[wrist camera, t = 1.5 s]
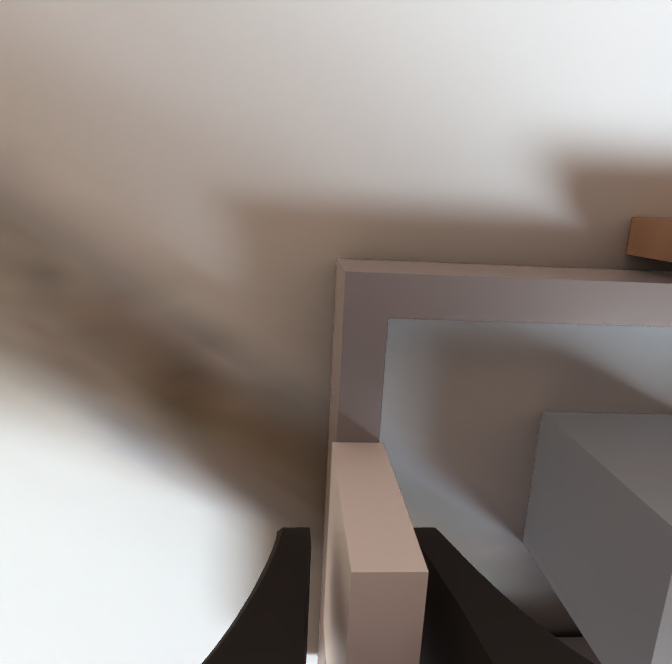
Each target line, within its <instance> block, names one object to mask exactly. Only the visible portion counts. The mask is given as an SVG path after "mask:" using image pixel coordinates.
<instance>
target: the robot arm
mask: <svg viewBox="0 0 672 664" xmlns="http://www.w3.org/2000/svg"><path fill="white" fill-rule="evenodd" d="M413 529H414V532H415V535H416V537H417V540H418V543H419V546H420V549H421V552H422V555H423V557H424V560H425V563H426V566H427V569H428V572H429V573H428V583H427V592H426V602H425V612H424V622H423V631H422V641H421V651H420V660H419V664H594V663H593V662H591V661H589V660H588V659H586V658H585V657H583V656H582V655H580V654H579V653H577V652H576V651H574V650H573V649H571V648H570V647H568V646H567V645H566V644H564V643H563V642H562V641H560V640H559V639H558V638H556V637H555V636H553V635H552V634H551V633H549V632H548V631H547V630H545V629H544V628H543V627H541V626H540V625H539V624H537V623H536V622H535V621H534V620H532V619H531V618H530V617H529V616H527V615H526V614H525V613H524V612H523V611H522V610H520V609H519V608H518V607H517V606H516V605H514V604H513V603H512V602H511V601H510V600H509V599H507V598H506V597H505V596H504V595H503V594H502V593H501V592H500V591H499V590H497V589H496V588H495V587H494V586H493V585H492V584H491V583H490V582H489V581H488V580H487V579H486V578H485V577H484V576H483V575H482V574H481V573H479V572H478V571H477V570H476V569H475V568H474V567H473V566H472V565H471V564H470V563H469V562H468V561H467V560H466V559H465V558H464V557H463V556H462V554H461V553H460V552H459V551H458V550H457V549H456V548H455V547H454V546H453V545H452V544H451V543H450V542H449V541H448V540H447V539H446V538H445V537H444V536H443V535H442V534H441V533H440V532H439V531H438V530H437V529H436V528H413ZM310 562H311V537H310V528H282V529H280V530H279V531H278V532H277V536H276V540H275V544H274V546H273V549H272V552H271V554H270V557H269V559H268V561H267V563H266V566H265V568H264V570H263V572H262V573H261V575H260V577H259V579H258V581H257V583H256V585H255V587H254V589H253V591H252V592H251V594H250V596H249V597H248V599H247V601H246V602H245V604H244V606H243V607H242V609H241V610H240V612H239V614H238V615H237V617H236V618H235V620H234V621H233V623H232V624H231V626H230V627H229V629H228V630H227V632H226V633H225V634H224V636H223V637H222V639H221V640H220V641H219V643H218V644H217V645H216V646H215V648H214V649H213V650H212V652H211V653H210V654H209V655H208V657H207V658H206V659H205V660H204V661H203V663H202V664H306V655H307V635H308V611H309V586H310Z"/></svg>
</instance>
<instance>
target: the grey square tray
mask: <svg viewBox="0 0 672 664" xmlns="http://www.w3.org/2000/svg"><path fill="white" fill-rule="evenodd" d="M388 318H400V319H432V320H464V321H496V322H529V323H561V324H593V325H626V326H658V327H672V272H667V271H641V270H616V269H591V268H566V267H541V266H515V265H490V264H465V263H440V262H414V261H389V260H364V259H339V258H337V267H336V289H335V310H334V331H333V352H332V373H331V394H330V415H329V436H328V457H327V478H326V499H325V520H324V541H323V562H322V583H321V604H320V625H319V646H318V664H419V660H420V651H421V641H422V631H423V622H424V612H425V602H426V592H427V583H428V573H429V572H428V569H427V566H426V563H425V560H424V557H423V555H422V552H421V549H420V546H419V543H418V540H417V537H416V535H415V532H414V529H413V526H412V523H411V520H410V518H409V515H408V512H407V509H406V506H405V503H404V501H403V498H402V495H401V492H400V489H399V486H398V483H397V481H396V478H395V475H394V472H393V469H392V466H391V464H390V461H389V458H388V455H387V452H386V449H385V447H384V444H383V443H379V436H380V422H381V408H382V394H383V380H384V366H385V353H386V339H387V325H388ZM556 638H558V639H559V640H560V641H562V642H563V643H564V644H566V645H567V646H568V647H570V648H571V649H573V650H574V651H576V652H577V653H579V654H580V655H582V656H583V657H585V658H586V659H588V660H589V661H591V662H593V663H594V664H601V662H600V661H599V659H598V658H597V656H596V655H595V653H594V652H593V650H592V649H591V647H590V645H589V644H588V642H587V641H586V639H585V638H584V637H556Z"/></svg>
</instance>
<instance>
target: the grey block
mask: <svg viewBox="0 0 672 664" xmlns="http://www.w3.org/2000/svg"><path fill="white" fill-rule="evenodd" d="M522 542H523V544H524V545H525V547H526V549H527V550H528V552H529V553H530V555H531V556H532V558H533V559H534V561H535V562H536V564H537V565H538V567H539V569H540V570H541V572H542V573H543V575H544V576H545V578H546V579H547V581H548V582H549V584H550V585H551V587H552V589H553V590H554V592H555V593H556V595H557V596H558V598H559V599H560V601H561V602H562V604H563V605H564V607H565V609H566V610H567V612H568V613H569V615H570V616H571V618H572V619H573V621H574V622H575V624H576V625H577V627H578V629H579V630H580V632H581V633H582V635H583V636H584V638H585V639H586V641H587V642H588V644H589V645H590V647H591V649H592V650H593V652H594V653H595V655H596V656H597V658H598V659H599V661H600V662H601V664H672V414H654V413H597V412H542V414H541V420H540V427H539V434H538V440H537V447H536V454H535V460H534V467H533V474H532V481H531V487H530V494H529V501H528V507H527V514H526V521H525V527H524V534H523V541H522Z"/></svg>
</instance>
